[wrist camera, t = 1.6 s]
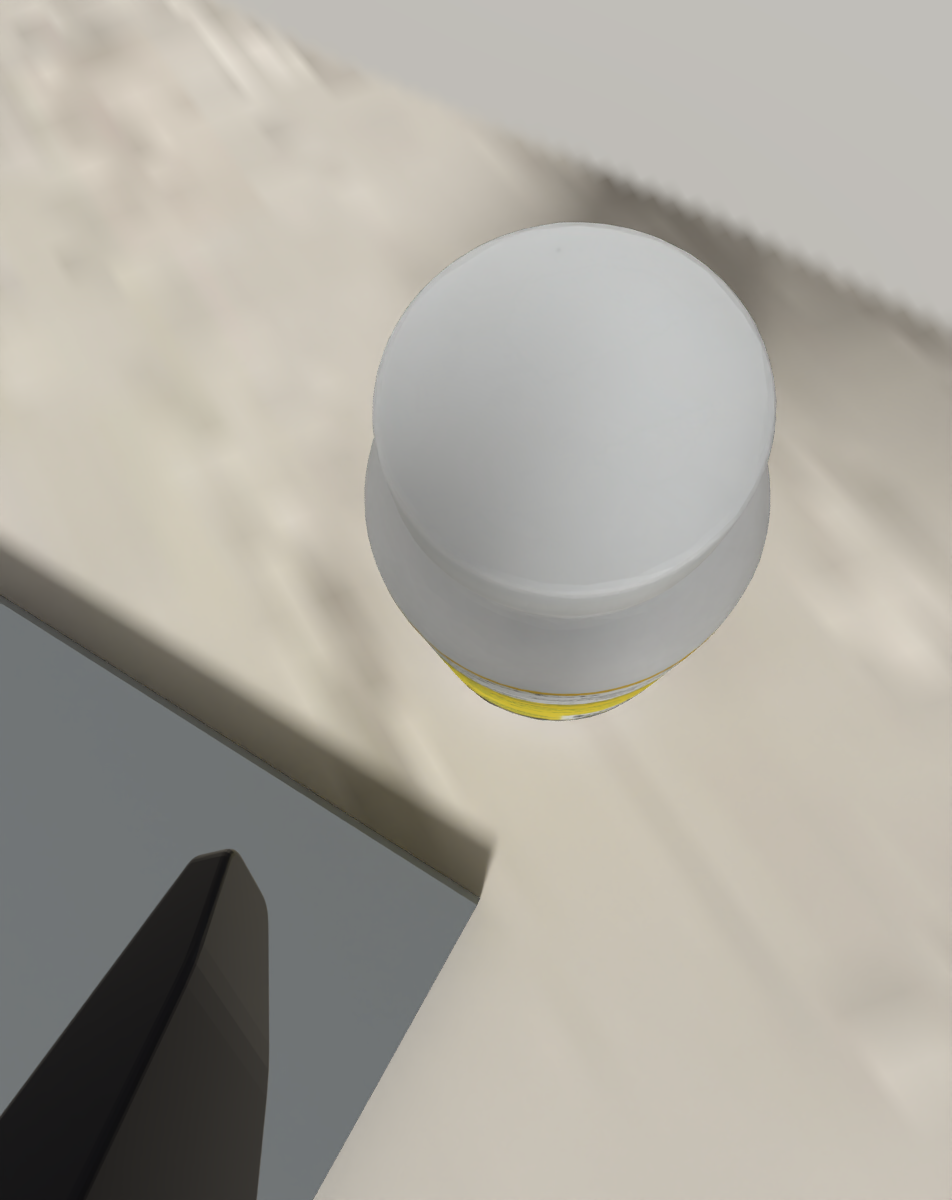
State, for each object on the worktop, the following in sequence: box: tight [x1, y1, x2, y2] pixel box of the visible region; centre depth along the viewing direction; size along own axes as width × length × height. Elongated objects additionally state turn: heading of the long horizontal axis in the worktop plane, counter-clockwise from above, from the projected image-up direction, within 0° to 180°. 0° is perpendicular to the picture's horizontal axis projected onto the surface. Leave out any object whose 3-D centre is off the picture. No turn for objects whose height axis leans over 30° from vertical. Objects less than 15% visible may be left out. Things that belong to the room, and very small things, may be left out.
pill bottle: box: [365, 222, 776, 721], centre depth 15 cm, size 6×6×11 cm
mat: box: [0, 595, 480, 1200], centre depth 18 cm, size 16×14×1 cm
